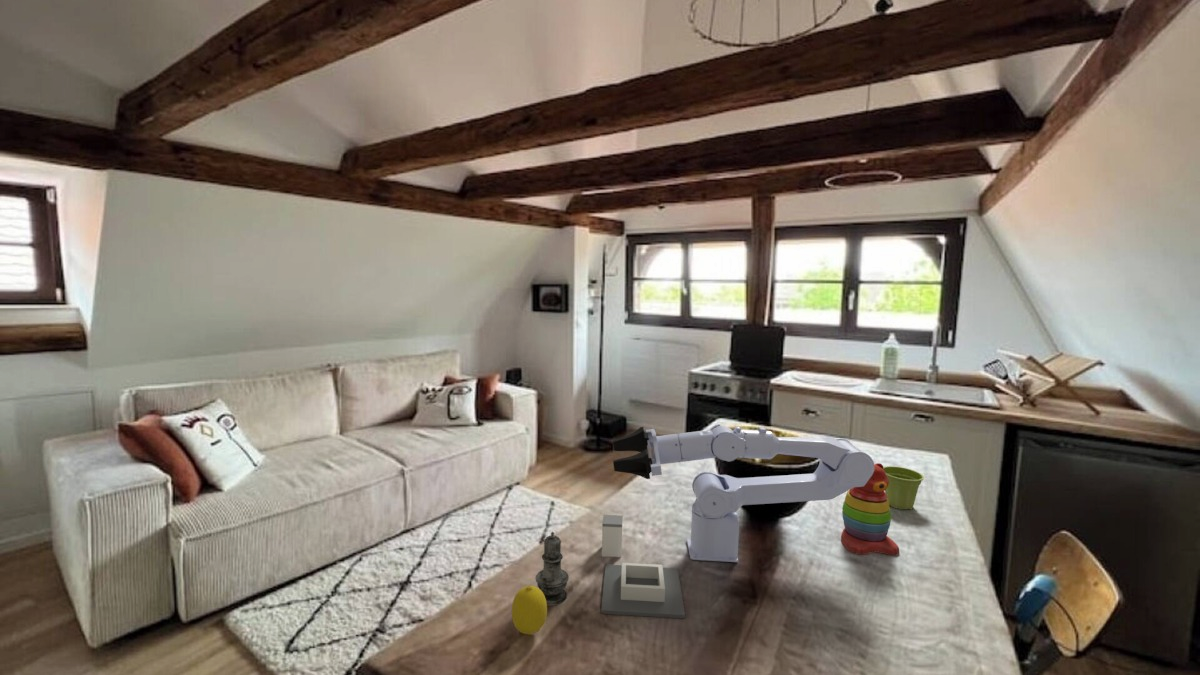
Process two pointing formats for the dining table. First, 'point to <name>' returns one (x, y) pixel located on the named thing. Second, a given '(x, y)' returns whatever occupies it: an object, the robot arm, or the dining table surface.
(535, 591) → the lemon
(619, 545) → the plug
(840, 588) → the dining table surface
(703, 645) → the dining table surface
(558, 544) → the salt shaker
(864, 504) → the stacking bear
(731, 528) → the robot arm
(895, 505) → the plant pot
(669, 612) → the socket base
